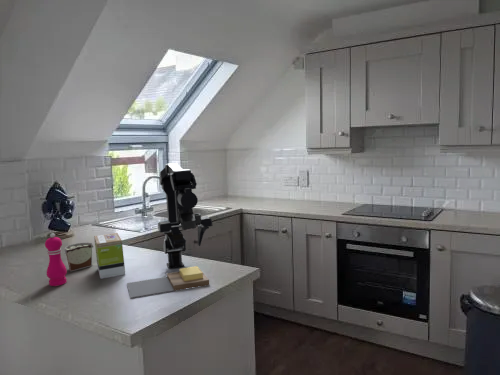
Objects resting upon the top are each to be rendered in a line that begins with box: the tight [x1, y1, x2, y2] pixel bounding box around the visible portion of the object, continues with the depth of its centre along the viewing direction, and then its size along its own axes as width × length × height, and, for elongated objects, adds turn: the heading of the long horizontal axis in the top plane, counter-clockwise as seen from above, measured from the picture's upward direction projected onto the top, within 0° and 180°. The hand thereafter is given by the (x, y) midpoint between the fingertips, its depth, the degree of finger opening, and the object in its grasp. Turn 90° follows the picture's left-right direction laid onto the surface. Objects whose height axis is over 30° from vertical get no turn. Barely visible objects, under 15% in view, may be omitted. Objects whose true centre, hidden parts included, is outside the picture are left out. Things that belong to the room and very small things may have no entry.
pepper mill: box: [44, 232, 68, 287], centre depth 168 cm, size 7×7×20 cm
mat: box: [126, 276, 175, 300], centre depth 159 cm, size 16×15×1 cm
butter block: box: [178, 265, 204, 281], centre depth 164 cm, size 9×7×2 cm
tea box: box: [93, 232, 126, 279], centre depth 180 cm, size 15×10×15 cm, turn 23°
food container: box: [63, 242, 94, 272], centre depth 189 cm, size 12×6×10 cm, turn 135°
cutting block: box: [166, 267, 210, 292], centre depth 164 cm, size 15×13×2 cm
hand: (186, 247), depth 157 cm, fingers open, 9 cm apart
